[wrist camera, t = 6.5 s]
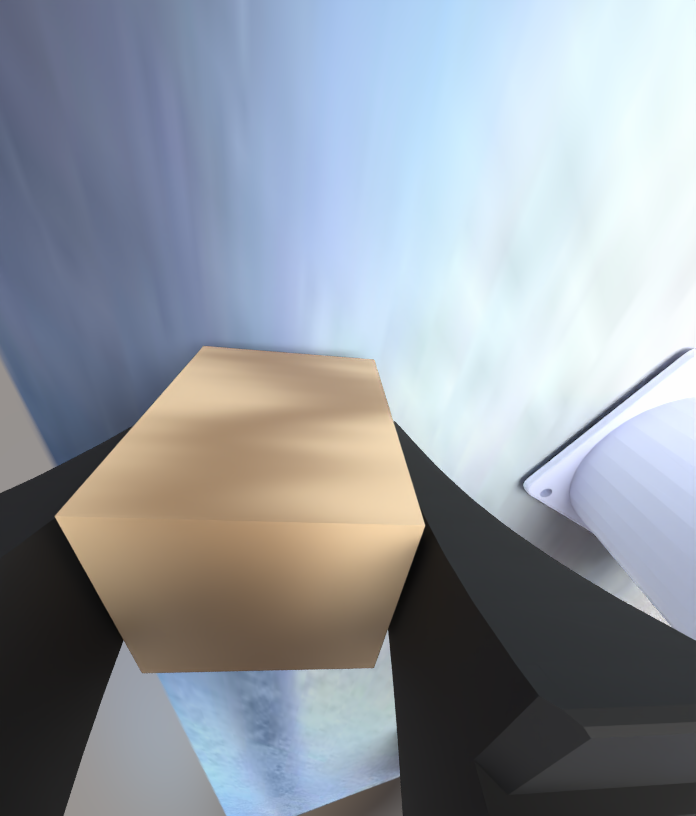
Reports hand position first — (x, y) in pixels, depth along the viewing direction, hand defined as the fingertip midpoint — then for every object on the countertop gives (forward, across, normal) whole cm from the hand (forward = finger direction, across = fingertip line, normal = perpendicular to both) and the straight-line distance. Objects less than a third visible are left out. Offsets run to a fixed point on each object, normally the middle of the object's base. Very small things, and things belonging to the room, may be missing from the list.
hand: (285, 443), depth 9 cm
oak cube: (+2, 0, 0) cm, 2 cm away
